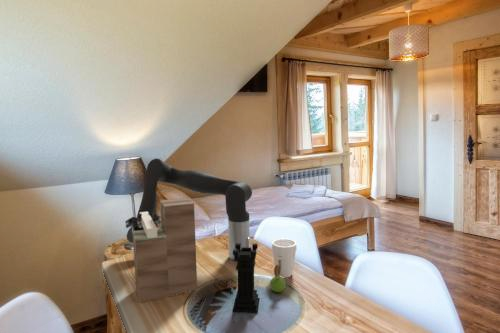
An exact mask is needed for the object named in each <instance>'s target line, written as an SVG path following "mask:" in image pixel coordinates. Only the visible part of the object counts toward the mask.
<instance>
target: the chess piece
mask: <svg viewBox="0 0 500 333" xmlns="http://www.w3.org/2000/svg"><path fill="white" fill-rule="evenodd" d="M251 246H252V247H251ZM251 246H250V247H242V250H241V243H236V244H235V249H236V250H233V255H234V260H233V261H234V262H237V263H236V267H235V270H236V271H237V291H236V295H235V299H234V301H233V302H234V303H233V307H232V313H242V314H243V313H245V314H246V313H248V314H259V306H260V299H261V298H260V297H259V293H258V290H257V289H255V266H256V257H257V250H258V248H259V247H258V246H259V244H258V243H252V245H251Z"/></svg>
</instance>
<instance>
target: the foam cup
mask: <svg viewBox="0 0 500 333" xmlns="http://www.w3.org/2000/svg"><path fill="white" fill-rule="evenodd" d="M271 250H272V255H273V261H274V266H275V265H276V264H277V263H278V259H281V260H282V261H281V274H280V276H282V277H288V276H291V275H292V276H293V273H294V266H295V259H296V251H297V242H296V241H295V240H294V239H289V238H278V239H275V240H273V241H272V242H271ZM279 255H280V256H282V257H279Z"/></svg>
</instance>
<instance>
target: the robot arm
mask: <svg viewBox="0 0 500 333" xmlns="http://www.w3.org/2000/svg"><path fill="white" fill-rule="evenodd" d="M159 182H160V183H168V184H173V185H177V186H179V187H182V188H185V189H187V190H190V191H193V192H196V193H200V194H206V195H207V194H210V195H211V194H212V195H213V194H214V195H223V196H224V197H225V199H224V200H225V211H226V215H227V219H228V229H227V230H228V258H229V259H230V260H231V261H234V255H233V250H236V249H235V244H236V243H241V250H242V247H251V234H250V213H249V212H248V211H247V208H246V206H247V204H246V202H247V201H249V200H250V199H251V197H252V196H253V190H252V188H251V186H250V185H249V184H247V183H246V182H243V181H239V180H232V179H225V178H224V177H223V178H222V177H219V176H217V175H213V174H209V173H206V172H203V171H199V170H196V169H195V170H193V169H187V170H186V169H185V170H182V169H178V168H176V167H174V166H171V165H169V164H168V163H166V162H165V161H164V160H162V159H160V158H153V159H151V160H150V161H149V162H148V164H147V166H146V171H145V179H144V186H143V192H142V198H141V201H140V205H139V209H138V211H137V215H136V217H135V216H132V217H129V219H126V220H125V228H127V229H128V228H129V229H128V230H127V234H126V239H127V242H130V243H132V244H133V232H132V231H137V230H144V228H143V226H142V224H141V216H142V214H140V212H147V211H148V214H149V215H150V216H151V218H152V220H153V222H154V224H155V223H156V224H160V225H161V215H160V216H159V215H158V214H155V212H156V208H157V186H158V183H159Z"/></svg>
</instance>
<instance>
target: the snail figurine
mask: <svg viewBox="0 0 500 333" xmlns="http://www.w3.org/2000/svg"><path fill="white" fill-rule="evenodd" d="M279 257H282V256H280V255H279ZM281 261H282V260H281V259H278V263H277V264H276V265H275V264H274V268H273V271H274V272H273V273H274V274H273V275H274V276H273V277H272V278H271V280H270V282H269V286H270V289H271V290H272V292H275V293H281V292H283V291H284V290H285V289H286V281H285V278H282V277H280V274H281Z"/></svg>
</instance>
